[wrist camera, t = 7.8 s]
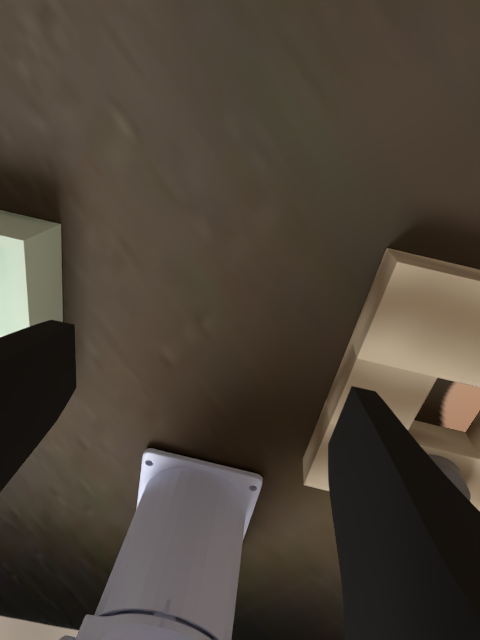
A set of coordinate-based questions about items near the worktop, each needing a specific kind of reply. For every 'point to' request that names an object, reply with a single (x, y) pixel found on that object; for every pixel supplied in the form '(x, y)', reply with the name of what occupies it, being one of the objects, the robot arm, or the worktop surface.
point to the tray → (29, 272)
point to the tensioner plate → (412, 361)
